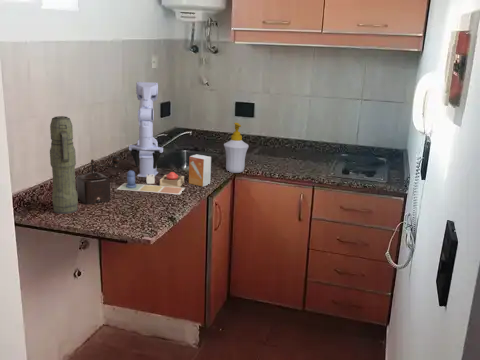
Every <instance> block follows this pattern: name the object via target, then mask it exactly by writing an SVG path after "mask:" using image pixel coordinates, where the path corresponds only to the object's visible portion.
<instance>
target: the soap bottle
mask: <svg viewBox="0 0 480 360" xmlns="http://www.w3.org/2000/svg"><path fill="white" fill-rule="evenodd" d="M233 124H234V130H235V131H233V132H232V133H233V134H231V136H230V140H228V141H227V142H224V143H223V147H224V150H225V158H226V159H225V168H226V169H225V170H226V171H227V172H228V171H229V172H228V173H233V174H239V173H242V172H244V171H245V166H246V165H245V163H246V162H245V161H246V160H245V159H246V155H247V151H248V149H249V143H247V142H244V141H243V136H242V134H241V132H240V131H239V130H240V128H242V125H241V124H240V123H239V122H234V123H233Z"/></svg>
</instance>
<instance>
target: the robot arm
mask: <svg viewBox="0 0 480 360" xmlns="http://www.w3.org/2000/svg"><path fill="white" fill-rule="evenodd" d="M135 89H136V90H135V91H136V92H135V93H136V94H135V95H136V98H137V100H138V101H139V107H138V109H137V121H138V136H139V138H138V139H137V141H136V143H137V144H129V146H128V151H130V154H131V157H132V159H133V160H134V164H135V168H139V173H138V174H137V175H136V177H138V178H139V177H141V178H146V175H148V174H154V176H155V177H156V176H157V175H158V174H159V171H158V170H157V169H158V168H157V167H158V165H157V164H158V162H159V158H160V156H161V154H162V153H164V147H163V146H161V147H160V146H159V144H158V139H156V138H155V137H154V133H153V132H154V120H155V118H154V117H155V116H154V115H155V111H154V102H156V101H158V97H159V96H158V95H159V83H158V82H156V81H153V82H151V81H150V82H148V81H137V82H136V87H135Z"/></svg>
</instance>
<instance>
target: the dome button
mask: <svg viewBox="0 0 480 360" xmlns="http://www.w3.org/2000/svg"><path fill="white" fill-rule="evenodd" d="M165 175H166V179H168V180H176V179H178V176H179V175H178V173H175V171H170V172H169V173H167V174H165Z"/></svg>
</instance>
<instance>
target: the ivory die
mask: <svg viewBox="0 0 480 360" xmlns="http://www.w3.org/2000/svg"><path fill="white" fill-rule="evenodd" d="M155 177H156V176H154V174H148V175H146V177H145V178H146V179H145V181H146V182H145V183H146V185H153V184H156V183H155V180H156V179H155Z"/></svg>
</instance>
